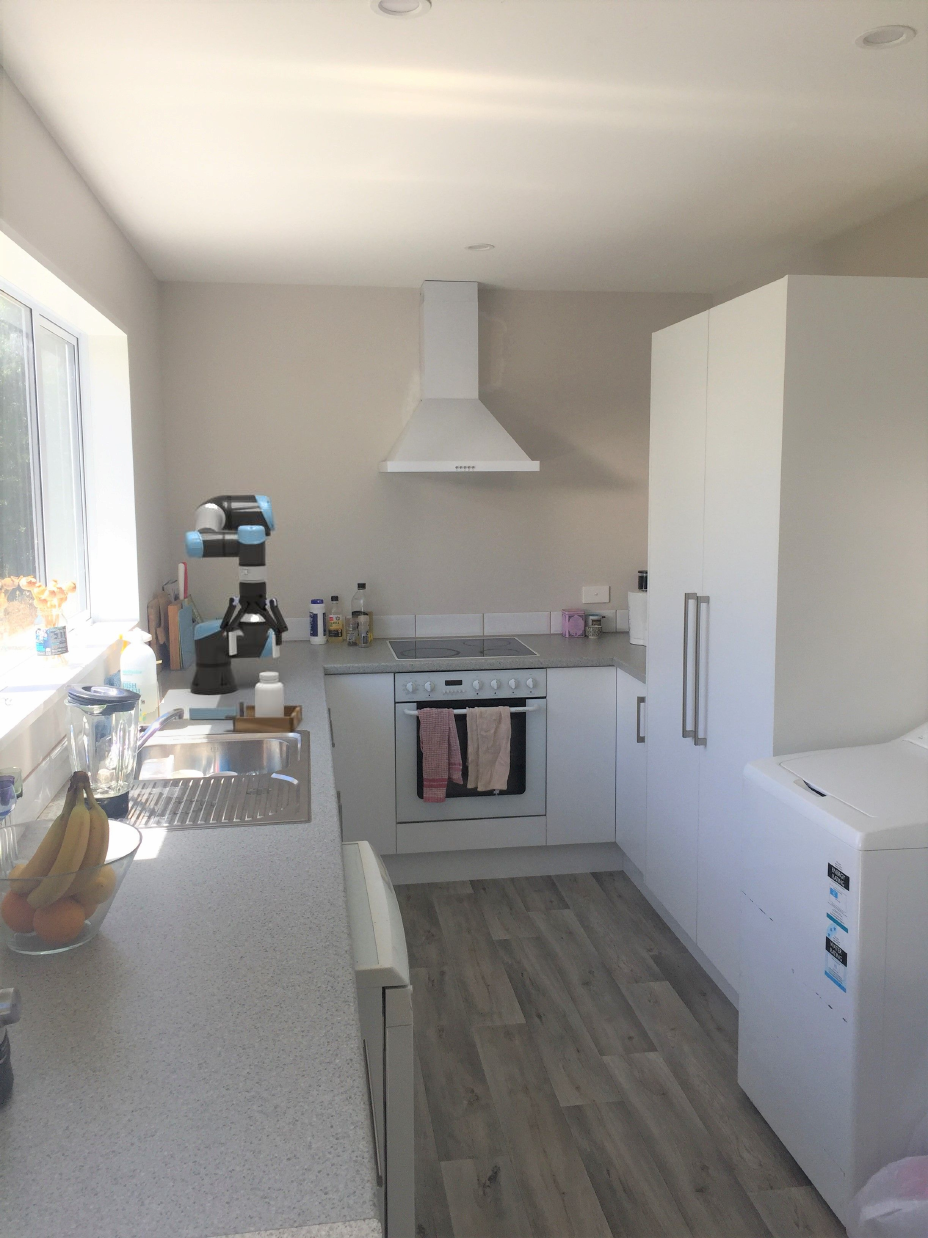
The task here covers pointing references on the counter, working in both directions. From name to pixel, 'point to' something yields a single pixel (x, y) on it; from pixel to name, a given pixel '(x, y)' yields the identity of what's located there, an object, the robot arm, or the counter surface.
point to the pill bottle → (269, 696)
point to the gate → (211, 713)
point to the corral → (266, 720)
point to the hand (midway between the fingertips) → (254, 655)
